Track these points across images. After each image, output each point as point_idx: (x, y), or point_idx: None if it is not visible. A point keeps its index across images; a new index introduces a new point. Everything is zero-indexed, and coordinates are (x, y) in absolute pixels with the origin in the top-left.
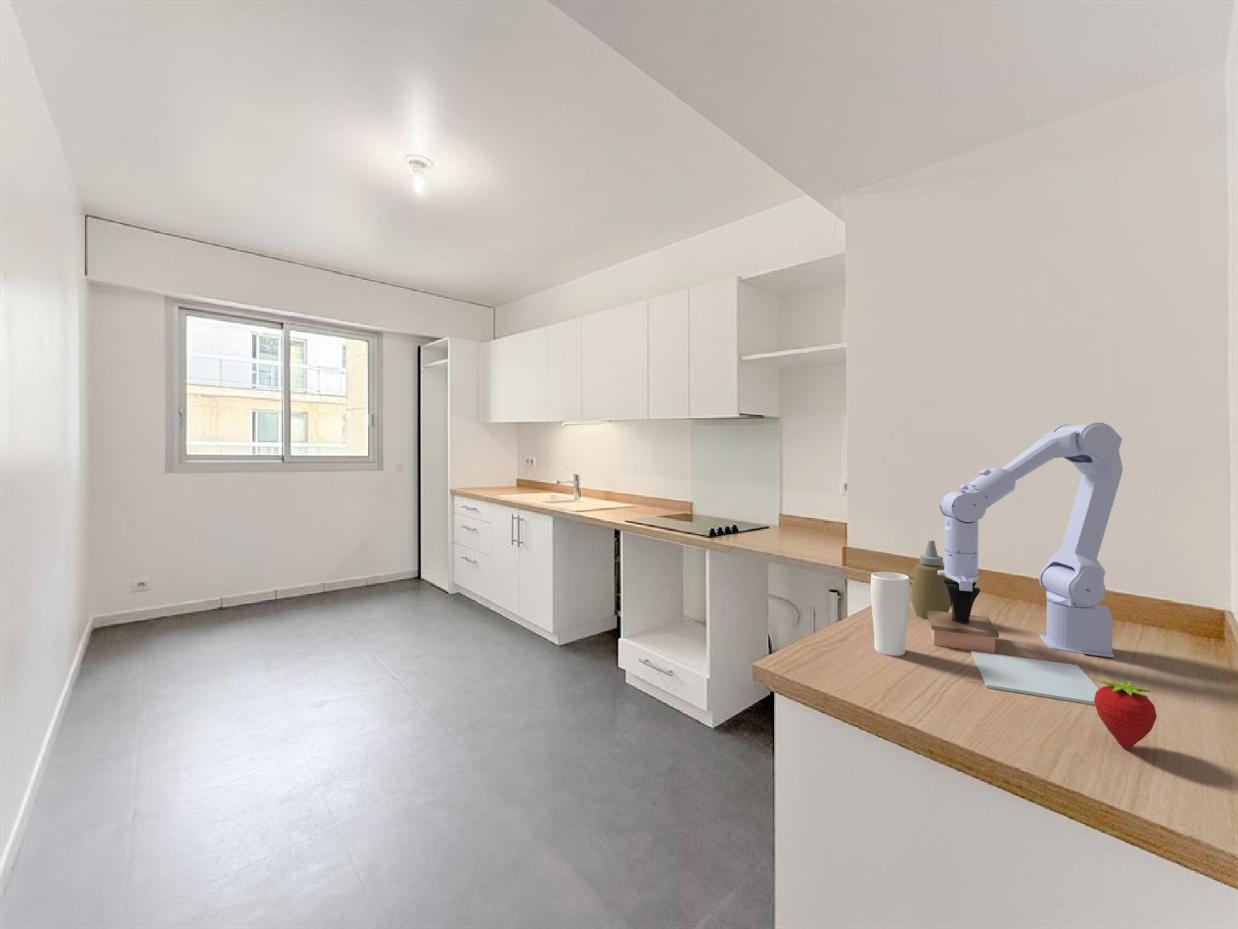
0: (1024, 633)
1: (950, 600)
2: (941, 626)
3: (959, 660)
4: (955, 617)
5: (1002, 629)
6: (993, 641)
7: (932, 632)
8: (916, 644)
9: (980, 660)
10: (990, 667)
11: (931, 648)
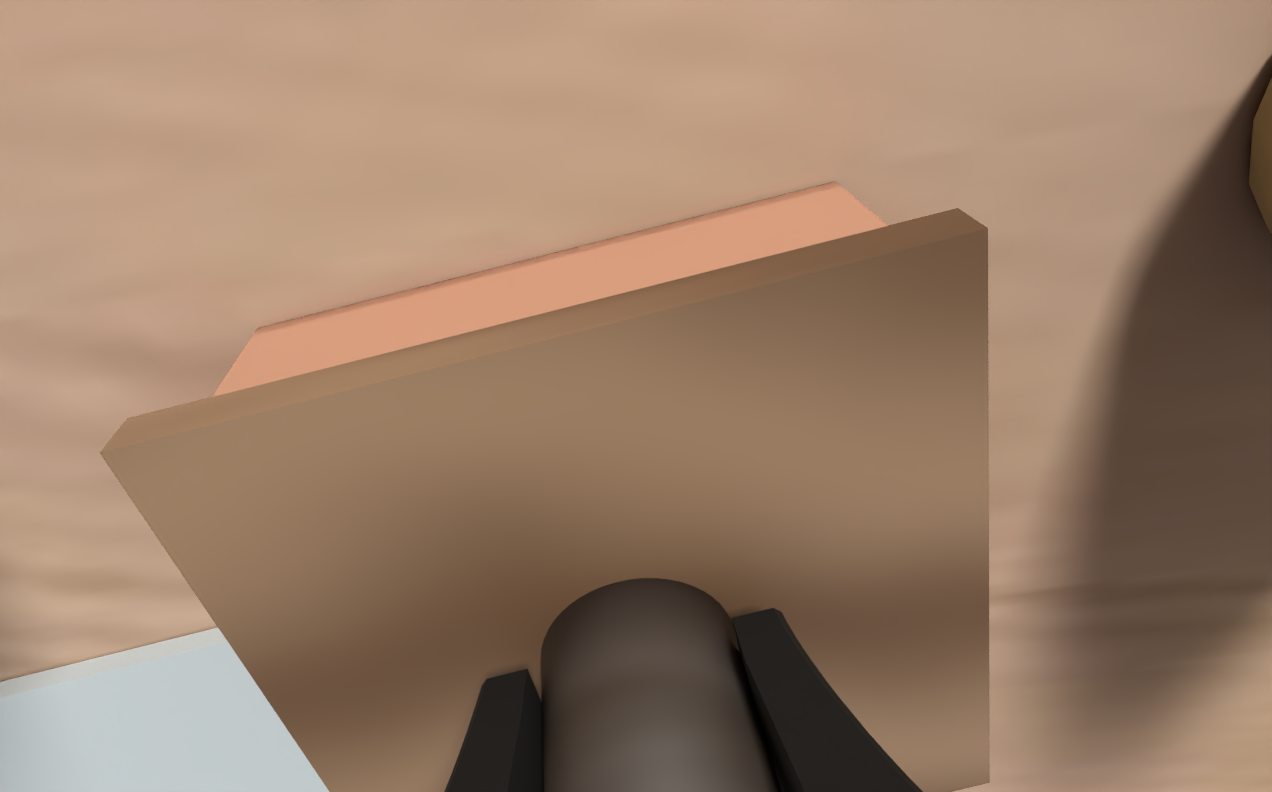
0: (1131, 750)
1: (804, 771)
2: (185, 554)
3: (52, 565)
4: (477, 705)
5: (1183, 650)
6: None
7: (441, 322)
8: (165, 149)
9: (128, 700)
10: (20, 766)
11: (173, 316)
